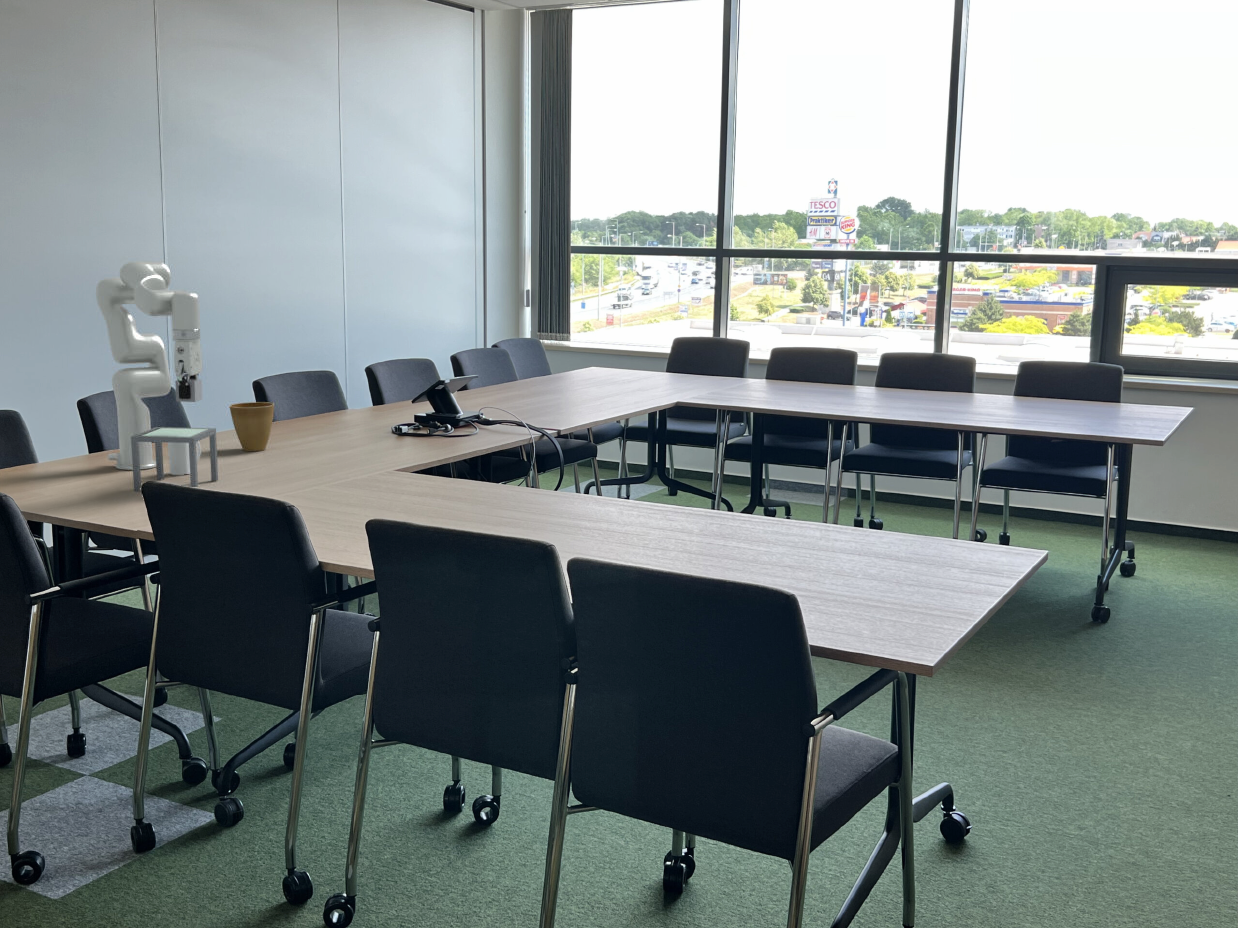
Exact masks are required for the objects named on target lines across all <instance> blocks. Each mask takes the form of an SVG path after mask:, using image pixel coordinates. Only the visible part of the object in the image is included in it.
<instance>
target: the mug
mask: <svg viewBox="0 0 1238 928" xmlns="http://www.w3.org/2000/svg"><path fill="white" fill-rule="evenodd" d="M167 450H168V461H169V462H168V463H169V473H170V475H171V474H172V476H185V475H184V474H188V475H190V460H189V443H169V442H167ZM201 454H202V446H201V443H200V441H197V442H196V456H197V464H198V463H199V460H200V457H201Z"/></svg>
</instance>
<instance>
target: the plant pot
mask: <svg viewBox="0 0 1238 928" xmlns="http://www.w3.org/2000/svg"><path fill="white" fill-rule="evenodd" d="M228 406H229V407H228V408H229V410H230V411H229V412H230V416H231V419H232V420H231V421H232V423H233V427H234V430H235V432H236V436H237V439H238V441H239V443H240V446H241V447H242V450H243V451H244V452H260V451H264V450H266V449H267V445H268V442H269V439H270V435H271V432H272V426H273V421H274V412H275V403H274V402H273V403H272V402H268V401H267V402H265V401H263V402H262V401H261V402H260V401H257V402H256V401H254V402H239V403H233V404H230V405H228Z"/></svg>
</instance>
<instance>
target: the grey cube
mask: <svg viewBox="0 0 1238 928" xmlns="http://www.w3.org/2000/svg"><path fill="white" fill-rule="evenodd" d="M189 385H190V392H191V398H190V399H180V398H179V385H178V380H175V401H176V402H181V403H182V402H183V403H184V402H185V403H196V402H198V401H201V400H203V389H202V379H201V378H198V379H189Z"/></svg>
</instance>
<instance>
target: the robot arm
mask: <svg viewBox="0 0 1238 928" xmlns="http://www.w3.org/2000/svg"><path fill="white" fill-rule="evenodd" d="M171 283H172V274H171V270H170V268H169V266H168V265H167V264H166V263H164V262H162V261H156V260H155V261H153V260H150V261H148V260H147V261H146V260H145V261H144V260H134V261H128V262H126V263H125V264H123V265H122V266H121V268H120V270H119V276H114V277H112V276H111V277H106V278H103V279H101V280H100V281H99V282H98V283H97V286H96V292H95V295H96V302H97V304H98V309H99V311H100V312H101V314H102V316H103V319H104V320H105V324H106V329H107V334H108V340H109V345H110V350H111V355H112V358H113V360H114V361H115V362H116V363H117V364H120V365H140V364H141V365H142V364H143V365H144V364H147V365H148V366H147V367H146V366H144V367H140V366H139V367H127V368H121V369H119V370H117V371H116V372H114V374H113V375H112V377H111V385H112V386H111V387H112V390H113V393H114V399H115V403H116V413H117V428H118V429H117V430H118V443H119V444H118V446H119V452H118V453H108V455H107V456H108V457H107V458H108V460H109V461H116V463H115V464H114V465H115V469H118V470H124V471H125V470H126V471H128V470H129V471H133V464H132V448H131V436H134V435H136V434H139V433H142V432H144V431H147V430H150V429H152V428H151V427H152V426H151V414H150V413H151V412H150V409H149V408H148V406H147V405H146V404H145V403H144V402H143V401H142V399H144V398H153V397H155V398H156V397H162V396H163V397H164V396H166V395H168V394H169V393H170V392H171V387H172V379H171V372H170V368H169V361H168V357H167V356H168V355H167V351H166V346H165V343H164V341H163V340H162V339H163V338H161V336H159V335H158V334H156V333H150V332H149V333H148V332H147V333H139V332H138V329H137V324H136V319H135V317H134V316H133V315H132V313H131V312H130V311H129V310H128V309H127V308H125V307H124V306H123V305H135V307H136V308H137V309H139V310H140V311H141V312H142V313H144V314H145V315H148V316H150V317H171V327H172V328H171V329H172V341H174V357H173V358H174V361H173V362H174V372H175V376H176V378H177V380H178V385H179V398H180V399H190V398H191V392H190V385H189V379H199V374H201V373H202V371H203V357H202V356H203V355H202V347H201V343H200V342H201V321H200V320H201V319H200V298H199V295H198V294H197V293H196V292H190V291H187V290H185V289H184V290H183V289H168V288H169V287H170V285H171ZM152 443H153V442H139V457H140V470H148V469H153V468H156V459H155V460H154V459H153V446H152Z"/></svg>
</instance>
